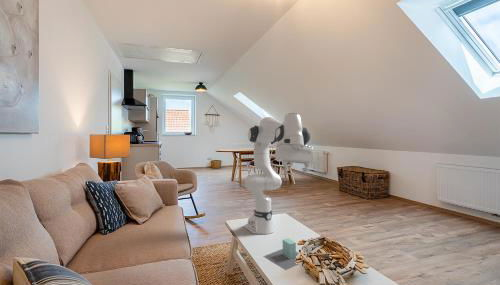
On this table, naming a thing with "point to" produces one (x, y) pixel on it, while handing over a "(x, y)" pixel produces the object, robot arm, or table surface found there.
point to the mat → (281, 259)
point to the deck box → (289, 248)
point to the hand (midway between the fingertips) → (296, 171)
